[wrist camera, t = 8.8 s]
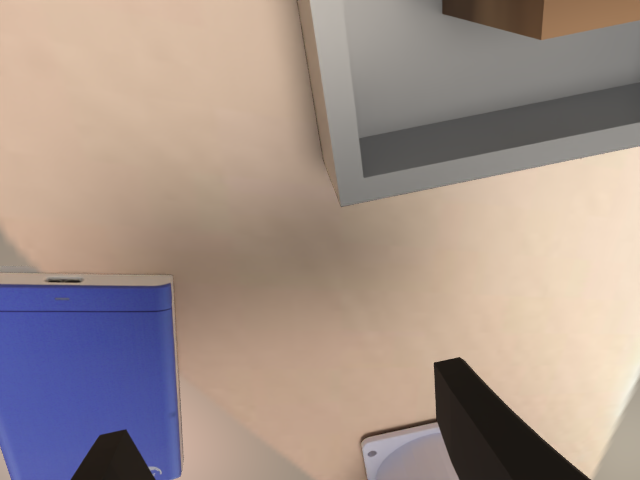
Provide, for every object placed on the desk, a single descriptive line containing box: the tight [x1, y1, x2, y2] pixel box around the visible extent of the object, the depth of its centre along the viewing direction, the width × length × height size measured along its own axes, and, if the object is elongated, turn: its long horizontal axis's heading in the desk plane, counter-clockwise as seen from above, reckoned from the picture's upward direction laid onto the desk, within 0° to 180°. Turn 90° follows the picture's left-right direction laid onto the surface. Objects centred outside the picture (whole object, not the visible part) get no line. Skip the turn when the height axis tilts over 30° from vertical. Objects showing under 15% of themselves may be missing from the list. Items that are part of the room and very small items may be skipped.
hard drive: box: [0, 266, 184, 480], centre depth 22 cm, size 2×8×12 cm
